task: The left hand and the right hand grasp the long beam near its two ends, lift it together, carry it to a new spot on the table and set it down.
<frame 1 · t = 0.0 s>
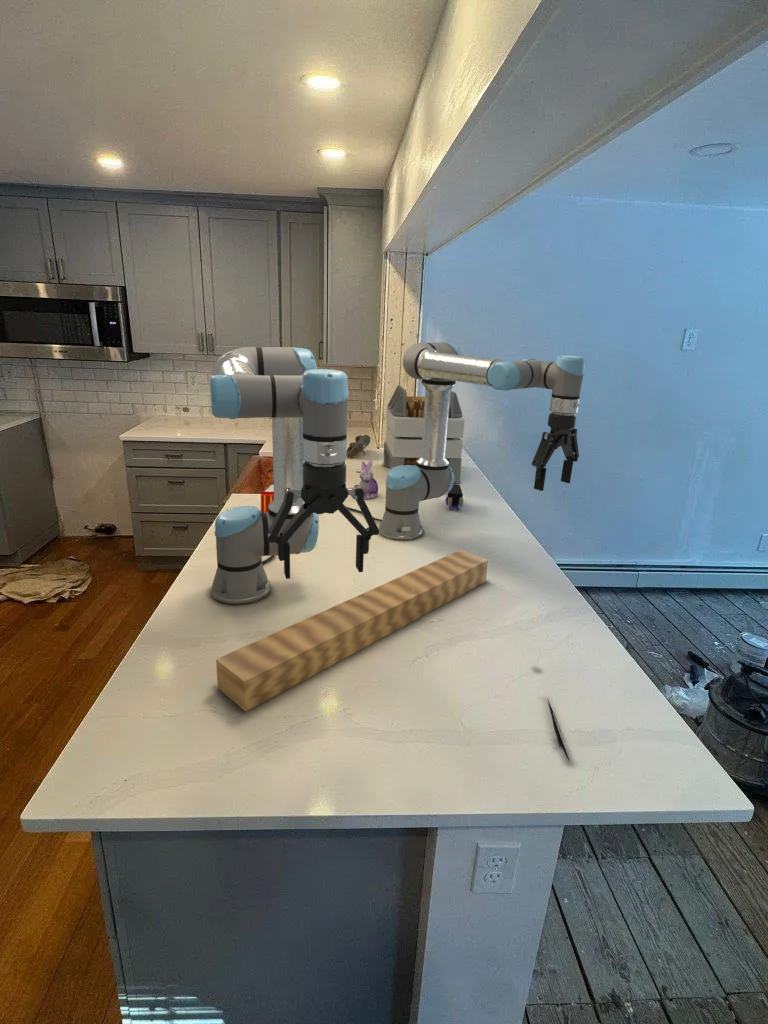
left hand: (323, 572, 106), 28 cm above the counter, tool pointing down, fingers open, 13 cm apart
right hand: (552, 485, 166), 28 cm above the counter, tool pointing down, fingers open, 13 cm apart
grey slatted crate: (419, 473, 275), on the counter
figurine character: (452, 506, 231), on the counter
long beam: (375, 625, 142), on the counter
feather: (550, 711, 114), on the counter
toy: (279, 517, 211), on the counter
fossil: (358, 454, 305), on the counter
figurine: (368, 496, 238), on the counter
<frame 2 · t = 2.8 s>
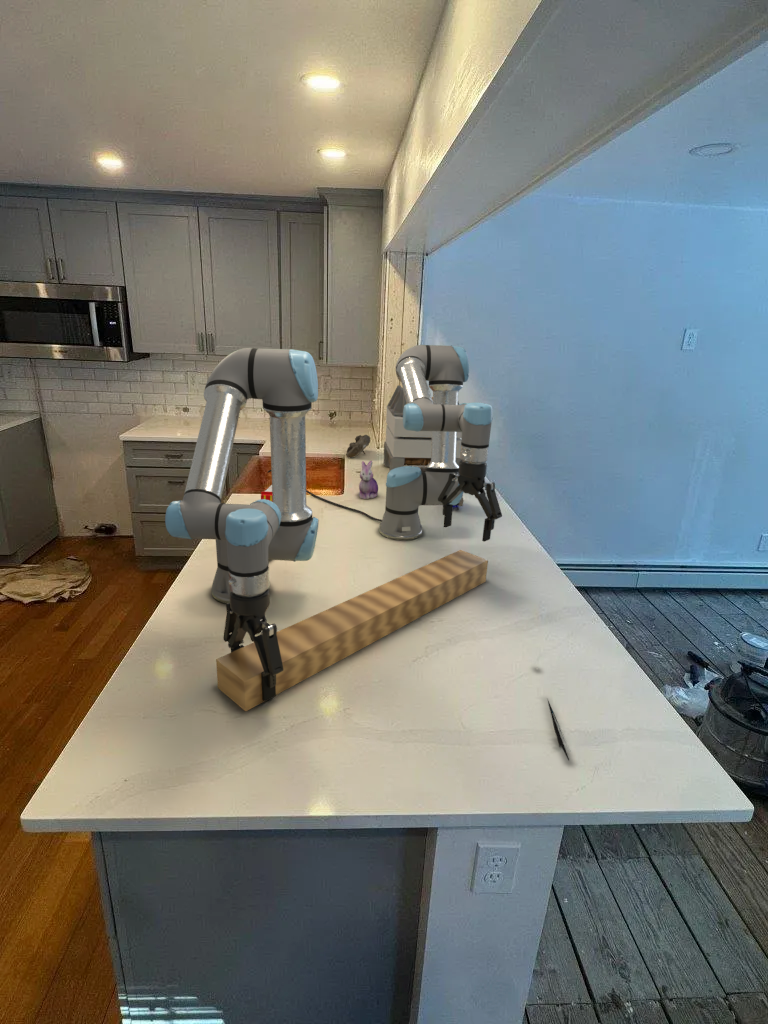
left hand: (253, 685, 117), 1 cm above the counter, tool pointing down, fingers closed on long beam, 10 cm apart
right hand: (466, 533, 162), 15 cm above the counter, tool pointing down, fingers open, 13 cm apart
long beam: (375, 625, 142), on the counter, touching left hand
everything else where it was.
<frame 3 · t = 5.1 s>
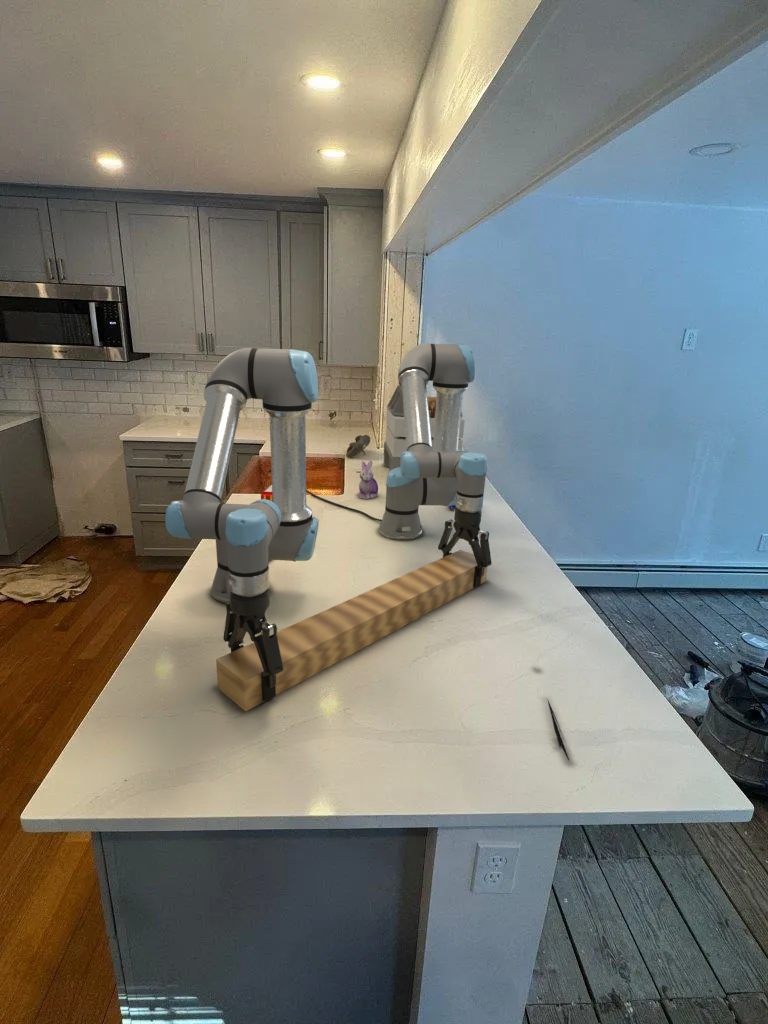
left hand: (253, 685, 117), 1 cm above the counter, tool pointing down, fingers closed on long beam, 10 cm apart
right hand: (461, 579, 167), 1 cm above the counter, tool pointing down, fingers closed on long beam, 10 cm apart
long beam: (375, 625, 142), on the counter, touching right hand, left hand
everything else where it was.
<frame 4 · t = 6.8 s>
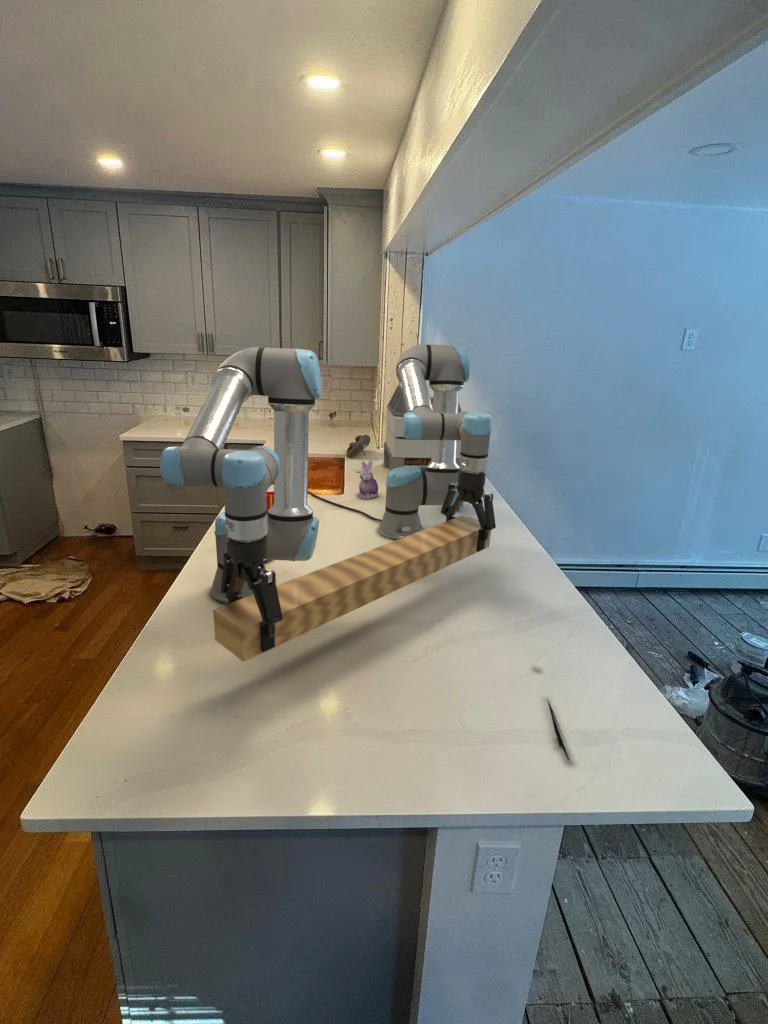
left hand: (252, 637, 113), 12 cm above the counter, tool pointing down, fingers closed on long beam, 10 cm apart
right hand: (464, 544, 163), 12 cm above the counter, tool pointing down, fingers closed on long beam, 10 cm apart
long beam: (377, 584, 139), point 11 cm above the counter, touching right hand, left hand
everything else where it was.
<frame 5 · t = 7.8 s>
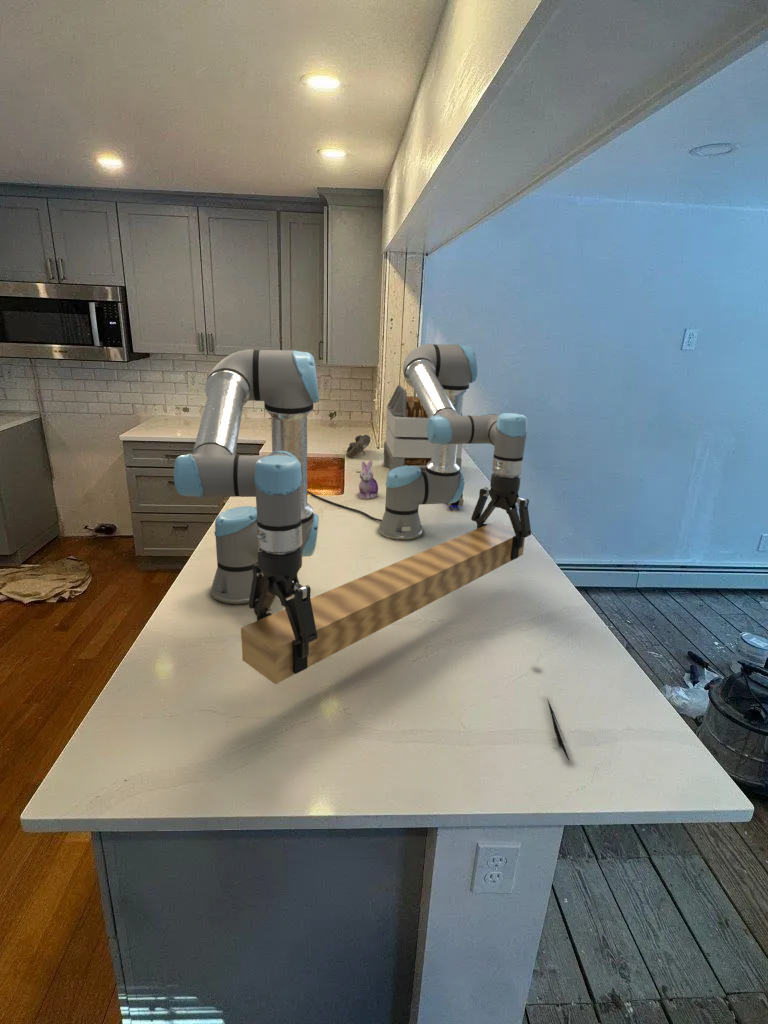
left hand: (282, 657, 105), 13 cm above the counter, tool pointing down, fingers closed on long beam, 10 cm apart
right hand: (497, 552, 155), 13 cm above the counter, tool pointing down, fingers closed on long beam, 10 cm apart
long beam: (410, 597, 130), point 13 cm above the counter, touching right hand, left hand
everything else where it was.
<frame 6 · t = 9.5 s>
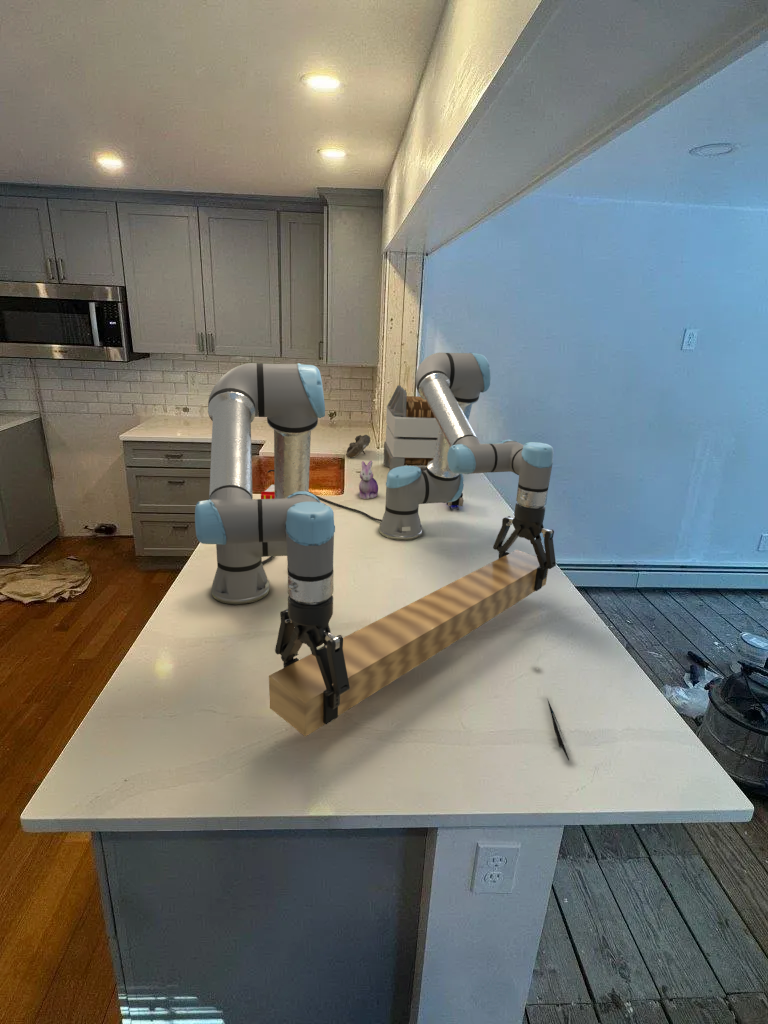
left hand: (310, 705, 102), 7 cm above the counter, tool pointing down, fingers closed on long beam, 10 cm apart
right hand: (519, 582, 152), 7 cm above the counter, tool pointing down, fingers closed on long beam, 10 cm apart
long beam: (435, 633, 127), point 7 cm above the counter, touching right hand, left hand
everything else where it was.
when the left hand's fingers open (2 cm above the counter, at t = 10.9 s): long beam drops 1 cm, on the counter.
when the right hand's fingers open (2 cm above the counter, at t = 10.9 s): long beam drops 1 cm, on the counter.
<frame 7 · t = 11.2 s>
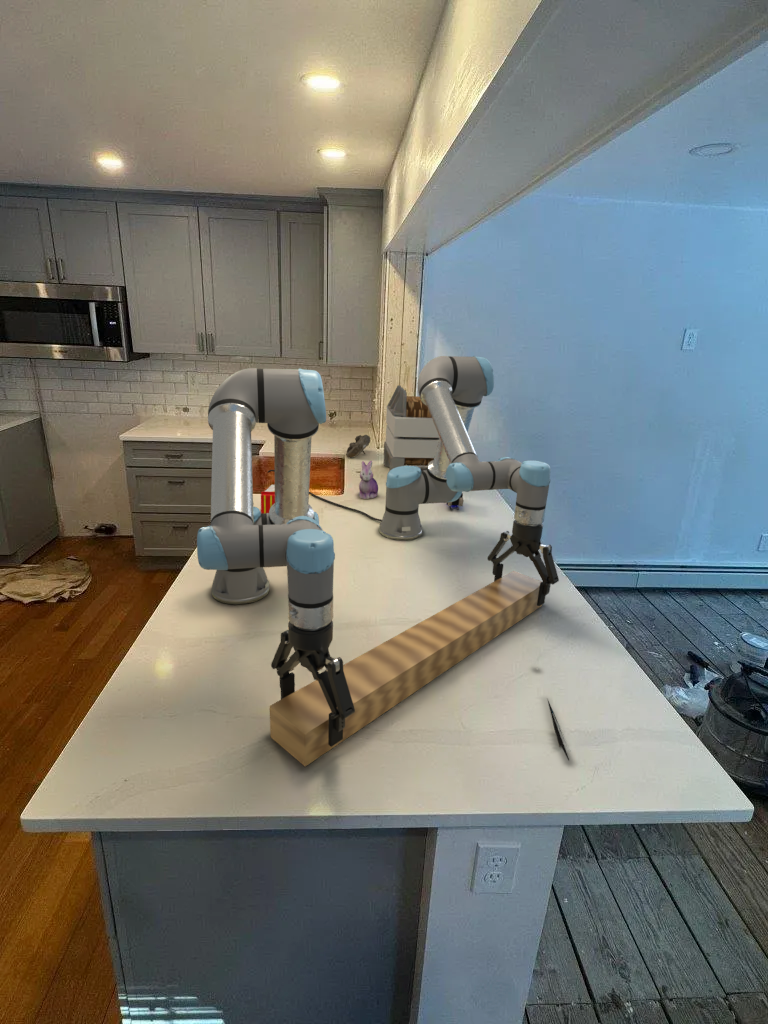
left hand: (310, 722, 103), 3 cm above the counter, tool pointing down, fingers open, 13 cm apart
right hand: (518, 595, 153), 3 cm above the counter, tool pointing down, fingers open, 13 cm apart
long beam: (433, 658, 129), on the counter
everything else where it was.
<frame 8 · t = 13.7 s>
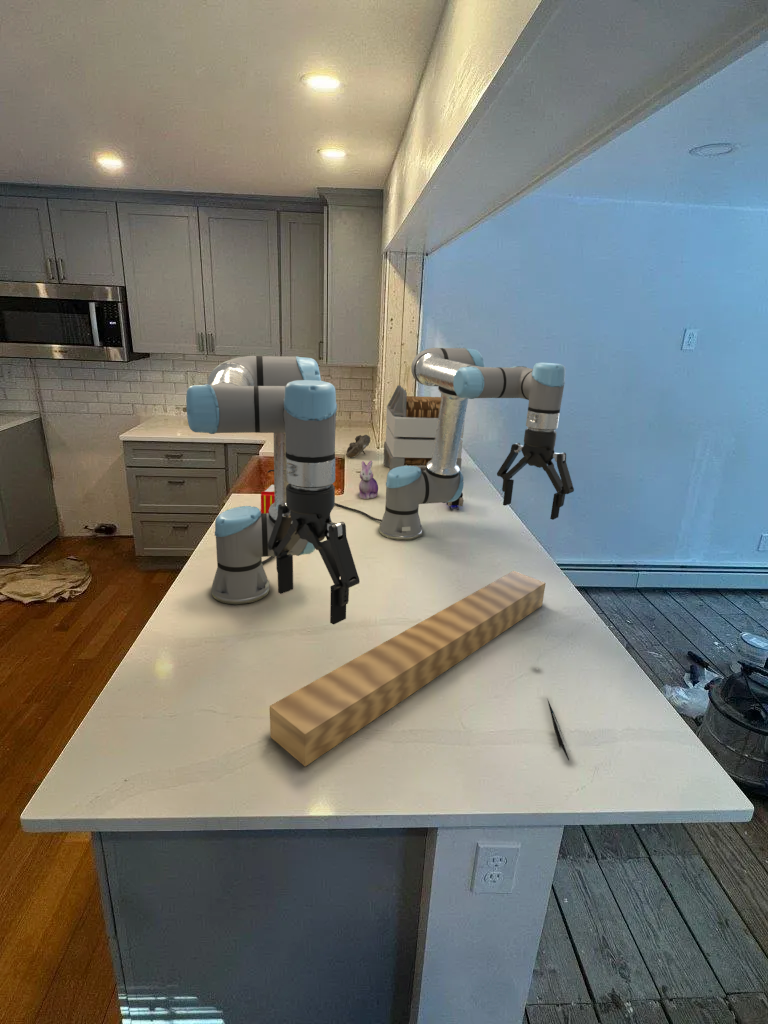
left hand: (310, 605, 95), 27 cm above the counter, tool pointing down, fingers open, 13 cm apart
right hand: (529, 511, 145), 27 cm above the counter, tool pointing down, fingers open, 13 cm apart
nothing on the counter moved.
at the end: long beam inside the target area (0.3 cm from its centre), on the counter; long beam tilted 0°; long beam never tilted more than 2° during the clip; both hands held the long beam at the same time; the left hand is holding nothing; the right hand is holding nothing; long beam at rest at the end (0.0 cm/s) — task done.
